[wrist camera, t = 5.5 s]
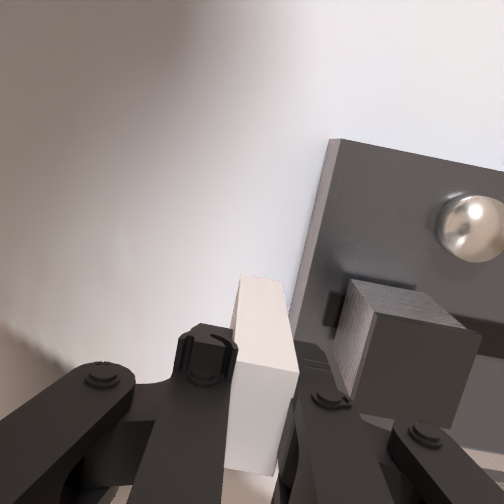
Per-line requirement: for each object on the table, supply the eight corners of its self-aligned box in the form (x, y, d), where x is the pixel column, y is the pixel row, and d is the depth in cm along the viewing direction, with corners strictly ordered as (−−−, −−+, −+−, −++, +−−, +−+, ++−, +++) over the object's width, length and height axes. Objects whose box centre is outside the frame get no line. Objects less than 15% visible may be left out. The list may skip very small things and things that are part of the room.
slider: (328, 351, 18) (350, 411, 14) (348, 275, 17) (377, 316, 13) (406, 365, 18) (450, 429, 14) (428, 291, 17) (482, 336, 13)
